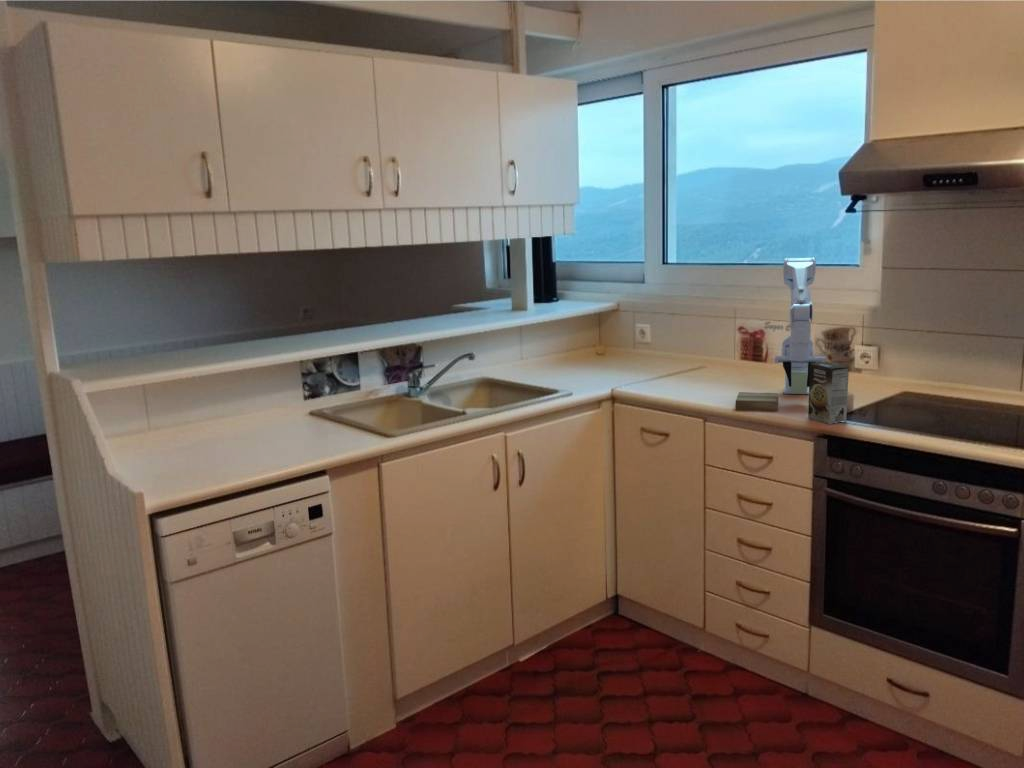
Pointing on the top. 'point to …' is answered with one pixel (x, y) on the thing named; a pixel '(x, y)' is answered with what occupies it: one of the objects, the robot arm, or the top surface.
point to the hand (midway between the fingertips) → (799, 386)
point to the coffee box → (828, 392)
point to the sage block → (799, 382)
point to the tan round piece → (850, 402)
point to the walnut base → (757, 401)
